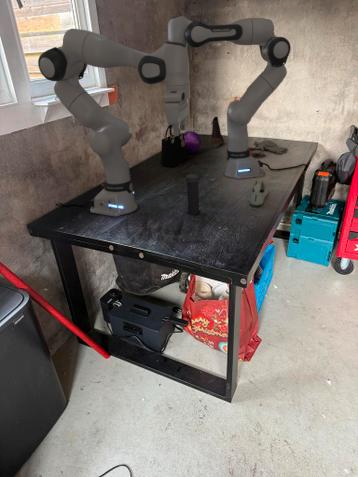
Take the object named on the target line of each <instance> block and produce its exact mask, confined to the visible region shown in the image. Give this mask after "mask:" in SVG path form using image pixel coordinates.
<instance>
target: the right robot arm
mask: <svg viewBox="0 0 358 477" xmlns="http://www.w3.org/2000/svg"><path fill="white" fill-rule="evenodd" d="M167 40H168V42H169V41H171V42H179V43H182V44H184V45H185V46H186V48H187V49H188V46H189V47H192V48H201V47H202V46H204V45H205V44H207V43H214V42H230V43H233V44H234V45H238V46H258V47H259V50H260V52H259V53H260V56H261V58H262V59H263V60H264V62H266V66H265V68H264V69H263V71H261V73H260V74H259V75H258V76H257V77H256V78H255V79H254V80H253V81H252V82H251V83H250V85H249V86H247V88H246V90H245V92H244V93H243V95H242V96H241V97H240V99H239V100H237V99H235V100H233V101H231V102H230V103H229V104H228V106H227V108H226V128H227V131H226V132H227V149H226V152H225V153H226V154H225V159H226V165H225V169H224V172H223V174H224V176H225V177H228V178H232V179H233V178H234V179H237V180H243V179H250V178H258V177H259V178H260V177H263V176H264V175H265V172H264V169H262V168H263V167H264V166H266V167H267V168H268V170H270V171H276V172H277V171H285V170H291V169H297V168H299V167H303V166H305V167H306V168H309V165H308V164H306V163H301V164H298V165H293V166H289V167H281V168H272V167H271V166H270V165H269V164H267V163H266V162H263V161H261V160H259V159H258V160H257V159H256V158H255V157H254V156H253V157H252V156H250V155H252V154H253V152H252V151H251V150H249V149H247V147H249V144H248V143H249V132H248V124H249V123H250V122H251V120H252V118H253V117H254V116H255V114H256V113H257V112H258V110H259V109H260V107H261V106H262V105H263V103H264V102H265V101H266V100H268V98H269V97H270V96H272V94H273V93H274V92H275V91H276V90H277V89H278V88H279V87H280V85H281V83H282V82H283V81H284V79H285V78H286V76H287V73H288V71H287V70H288V69H287V67H286V66H285V65H286V64H287V61H288V58H289V56H290V53H291V50H292V48H291V43H290V41H289V40H288V39H287V38H286V37H284V36H276V34H275V25H274V22H273V21H272V20H271V19H270V18H263V17H247V18H241V19H237V20H235V21H233V22H231V23H227V24H213V25H211V24H206V23H204V22H202V21H199V20H195V21H192V20H191V19H188V18H187V17H185V15H183V14H182V15H176V16H173V17H171V18H170V19H169V20H168V23H167Z"/></svg>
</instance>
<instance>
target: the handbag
mask: <svg viewBox="0 0 358 477" xmlns="http://www.w3.org/2000/svg"><path fill="white" fill-rule="evenodd" d="M179 130H180V128H179ZM172 131H173V127H172V125H169V124H168V126H167V128H166V130H165V136H163V138H161V150H160V165H161V166H163V167H171V168H173V167H175V166H178V164H180V163H182V162H184V161H186V160H188V153H187V152H186V145H185V143H186V142H185V138H184V133H185V132H181V130H180V135H179V136H174V132H172ZM168 132H169V136H168Z"/></svg>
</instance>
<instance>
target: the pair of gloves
mask: <svg viewBox="0 0 358 477" xmlns="http://www.w3.org/2000/svg"><path fill="white" fill-rule="evenodd" d="M253 146H254V147H251V146H248V147H247V149H249V150H251V151H252V152H253V154H252V155H250V156H252V157H253V158H254V157H256V156H263V157H267V154H266V153H265V152H264V150H266V151H269V152H272V153H275V154H278V155H280V154H284V153H287V152H288V150H289V149H288V148H287V147H281V146H279V145H278V144H277V143H276V142H274V141H272V140H269V139H266V140H262V141H260V142H258V141H257V140H255V141H254V142H253Z"/></svg>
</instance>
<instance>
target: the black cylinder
mask: <svg viewBox="0 0 358 477" xmlns="http://www.w3.org/2000/svg"><path fill="white" fill-rule="evenodd" d="M186 191H187V208H188V209H187V211H188V214H189V215H192V216H194V215H198V214H199V213H200V201H199V200H200V199H199V196H200V195H199V194H200V193H199V181H198V182H194V183H190V182H187V181H186Z"/></svg>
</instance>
